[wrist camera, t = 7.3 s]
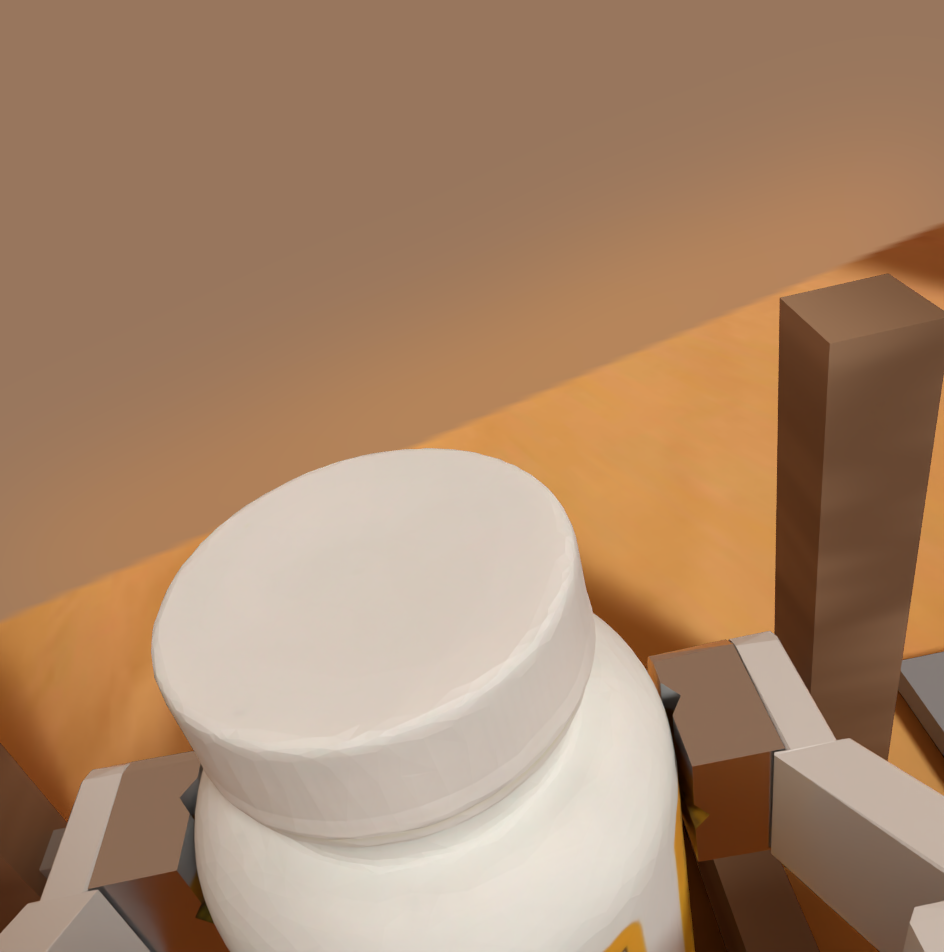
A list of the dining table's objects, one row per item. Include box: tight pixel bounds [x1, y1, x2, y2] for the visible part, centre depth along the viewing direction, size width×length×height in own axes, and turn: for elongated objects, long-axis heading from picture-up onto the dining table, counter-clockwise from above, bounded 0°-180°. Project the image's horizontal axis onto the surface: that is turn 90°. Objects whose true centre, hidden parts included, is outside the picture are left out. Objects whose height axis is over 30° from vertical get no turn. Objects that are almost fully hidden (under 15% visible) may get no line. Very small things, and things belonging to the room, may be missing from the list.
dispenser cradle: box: [0, 274, 944, 952], centre depth 12 cm, size 17×6×10 cm, turn 96°
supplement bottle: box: [151, 448, 695, 952], centre depth 10 cm, size 5×5×10 cm
